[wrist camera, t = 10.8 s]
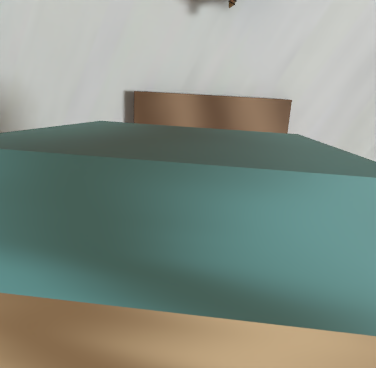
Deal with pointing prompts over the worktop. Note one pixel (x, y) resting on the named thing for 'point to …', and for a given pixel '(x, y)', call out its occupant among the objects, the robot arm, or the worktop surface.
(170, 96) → the walnut board
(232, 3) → the game die
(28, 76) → the worktop surface
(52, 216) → the tan rectangular block
